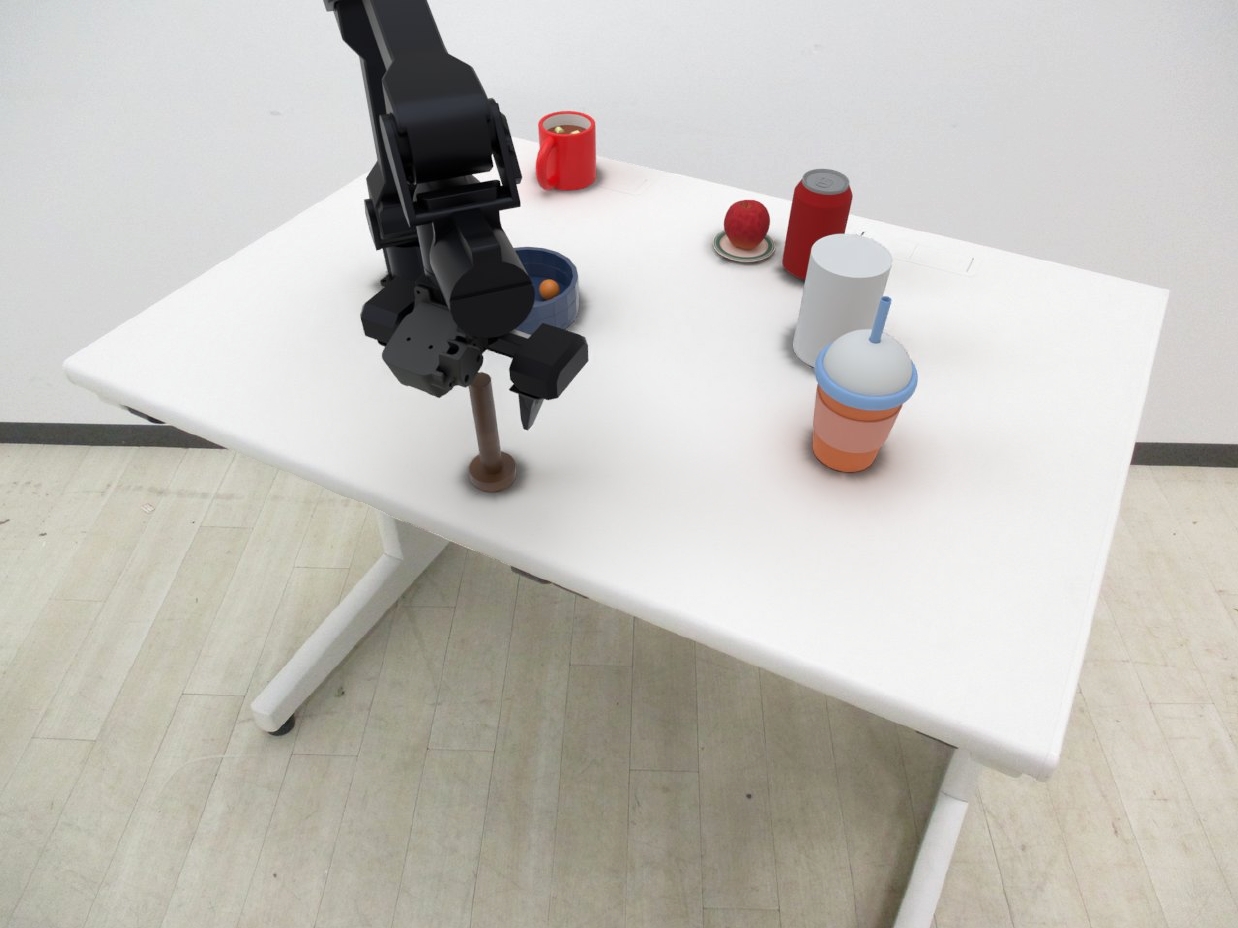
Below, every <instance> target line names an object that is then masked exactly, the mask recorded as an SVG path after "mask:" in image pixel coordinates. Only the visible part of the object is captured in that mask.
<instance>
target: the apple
mask: <svg viewBox="0 0 1238 928" xmlns="http://www.w3.org/2000/svg"><path fill="white" fill-rule="evenodd" d="M770 225H771V216H770V213H769V210H768V208H767V207H766V206H765V205H764V204H763V203H762V202H760V201H759V200H755V199H743V200H737V201H736V202H734V203H732V204H730V206H729V208H728V209H727V211H726V213H725V215H724V219H723V230H721V231H719V232H717V233H716V234H715V236H714V237H713V239H712V247H713V249H714V251H716V252H717V254H718V255H720V256H722V257H723V258H726V259H729V260H731V261H734V262H742V263H753V262H759V261H763V260H765V259H768V258H769V257H771V256H772V255H773V254H774V252H775V250H776V242H775V240H774V238H773V237H771V236H770V234H768V232H769V229H770Z"/></svg>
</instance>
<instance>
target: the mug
mask: <svg viewBox="0 0 1238 928" xmlns="http://www.w3.org/2000/svg"><path fill="white" fill-rule="evenodd" d="M537 130H538V131H537V132H538V144H539V146H538V147H539V149H538V152H537V155H536V160H535V168H534V169H535V178H536V181H537V183H538V186H539V187H540V188H541V189H542V190H545V191H551V190H553V189H555V190H558V191H559V190H560V191H577V190H582V189H585V188H587V187H589V186H591V185H592V184H594V183H595V181H596V179H597V142H596V141H597V140H596V139H597V138H596V137H597V136H596V135H597V134H596V133H597V132H596V131H597V130H596V121H595V119H594V118H593V117H592V116H590V115H589V114H587V113H584V112H581V111H573V110H560V111H556V112H555V111H554V112H551V113H548V114H546V115H544V116H542V117H541V118H540V119H539V121H538V123H537Z"/></svg>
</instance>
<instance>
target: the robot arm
mask: <svg viewBox="0 0 1238 928" xmlns="http://www.w3.org/2000/svg"><path fill="white" fill-rule="evenodd" d="M322 1H323V2H322V3H323V5H324V8H325V11H326V12H333V16H334V18H335V21H336V24H337V27H338V30H339V33H340V37H341V39H342V41H343V42H344V43H345V44H346V45H347V46H348V47H349V48H350V49H351V50H352V51H353V52H354V53H355V54H356V55H357V56H358V59H359V65H360V71H361V76H362V82H363V87H364V93H365V98H366V104H367V110H368V116H369V120H370V126H371V132H372V138H373V144H374V149H375V153H376V162H375V163H374V165H373V167H372V168H371V169H370V171H369V173H368V174H367V176H366V178H365V181H366V188H367V192H368V197H369V198H365V199H363V203H364V204H363V205H364V213H365V219H366V221H367V226H368V230H369V234H370V236H371V239H372V242H373V246H374V248H375V250H376V251H381V250H382V253H383V258H384V263H385V266H386V271H387V274H386V275H385V276H384V277H383V278H381V279H380V281H379V282H380V286H382V288H381V289H380V290H379V291H378V292H377V293H375V294H374V295H373V296H372V297H370V298H369V299H368V300H367V301H366V302H364V304H363V305H362V307H361V310H360V313H359V318H360V322H361V326H362V329H363V333H364V336H365V337H368V338H370V339H374V340H376V342H377V343H378V344H379V345H380V346H382V347H383V350H382V352H381V360H382V361H383V362H384V364H385V365H386V366H387V367H388V369H389V370H390V372H391V373H392V374H393V376H394V377H395V378H396V380H397V381H398V383H400V384H401V385H403V386H405V387H411V388H413V389H416V390H419V391H421V392H424V393H426V394H428V395H430V396H433V397H435V398H437V399H441V398H442V397H443V396H445V395H447V394H449V392H450V391H452V390H453V389H454V387H456V386H457V387H458V386H459V387H463V388H469V387H468V386H470V385H471V383H472V382H473V380H474V378H475V377H476V375H477V373H478V372H480V370H481V368H482V366H483V364H484V355H483V354H484V353H485V352H486V351H489V352H493V353H496V354H499V355H501V356H504V357H507V358H511V362H510V365H509V368H508V374H509V380H510V381H511V383H512V385H511V386H510V387H509V388H508V391H509V392H510V393H514V394H517V395H518V404H519V415H520V422H521V424H522V429H523V430H525V431H529V430H530V429H531V428H532V426H533V425H534V423H535V422H536V419H537V417H538V415H539V412H540V409H541V407H542V406H543V404H544V401H551V400H555V399H559V397H560V396H561V395H562V394H563V392H564V391H565V390H566V389H567V388H568V386H569V385H570V384H571V383H572V382H573V381H574V379H575V378H577V375H578V374H579V373H580V372H581V371H582V369H583V368H584V367H585V366H586V365H587V364H588V363H589V344H588V342H587V341H588V340H587V339H586V337H585V336H584V335H582V334H579V333H576V332H573V331H570V330H567V329H561V328H558V327H555V326H552V325H549V324H545V323H542V324H541V325H540V326H539V327H538V328H537V329H536V330H535V332H534V333H533V334H532V335H529V334H526V333H523V332H520V331H517V330H514V329H516V328H517V327H519V326H520V325H521V324H522V323H523V322H524V321H525V320H526V319H527V317H528V315H529V314H530V312H531V311H532V308H533V305H534V301H535V289H534V286H533V283H532V281H531V279H530V277H529V275H528V274H527V272H526V270H525V268H524V266H523V265H522V263H521V261H520V259H519V257H518V255H517V254H516V252H515V250H514V248H515V247H514V246H513V245H512V243H511V241H510V239H509V237H508V235H507V234H506V232H505V230H504V229H503V227H502V222H501V215H500V214H501V213H500V211H506V210H511V209H517V208H521V206H522V205H521V203H522V202H521V198H520V193H519V190H518V185H521V183H522V179H523V174H522V171H521V167H520V164H519V163H520V162H519V159H518V156H517V152H516V148H515V146H514V145H515V144H514V142H513V137H512V135H511V130H510V125H509V123H508V119H507V116H506V115H505V114H504V113H503V112H501V110H500V109H501V108H500V105H499V102H497V101H496V100H495V99H494V97H488V95H487V92H486V89H485V88H484V87H483V85H482V83H481V81H480V78H479V76H478V75H477V72H476V71H475V69H474V67H473V66H472V65H470V64H469V63H467V62H465V61H463V60H461V59H460V58H458V57H455V55H452V54H450V53H449V52H448V49H447V48H446V46H445V42H444V41H443V37H442V35H441V32H440V30H439V28H438V27H439V26H438V25H437V22H436V19H435V17H434V15H433V12H432V10H431V7H430V3H429V2H428V0H322ZM493 160H494V161H493ZM494 163H495V167H496V170H497V173H498V176H499V179H491V180H487V181H486V180H485V181H480V180H479V179H478V178H477V177H476V176H474V175H478V174H483V173H484V174H485V173H491V171H492V170H493V169H494Z"/></svg>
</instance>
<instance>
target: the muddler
mask: <svg viewBox="0 0 1238 928" xmlns="http://www.w3.org/2000/svg"><path fill="white" fill-rule="evenodd" d="M467 388H468V393H469V399H470V405H471V411H472V417H473V424H474V430H475V436H476V442H477V448H478V454H477V455H476V456H474V457H473V458H472V460H471V462H470V463H469V466H468V472H469V477H470V481H471V484H472V485H473V486H474V487H475V488H476V489H478V490H480V491H482V492H487V493H496V492H500V491H503V490H505V489H507V488H509V487H510V486H512V484H513V483H514V482H515V480H516V478H517V474H518V473H517V466H516V465H517V464H516V461H515V459H514V458H513V456H511V455H510V454H509V453H508V452H505V451H502V449H501V448H502V447H501V442H500V441H501V440H500V435H499V426H498V420H497V419H498V418H497V412H496V405H495V397H494V389H493V382H492V377H491V375H489V374H488V373H487V372H481V371H478V373H477V375H476V377H475V378H474V380H473V382H472V383H471V385H470V386H468V387H467Z"/></svg>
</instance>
